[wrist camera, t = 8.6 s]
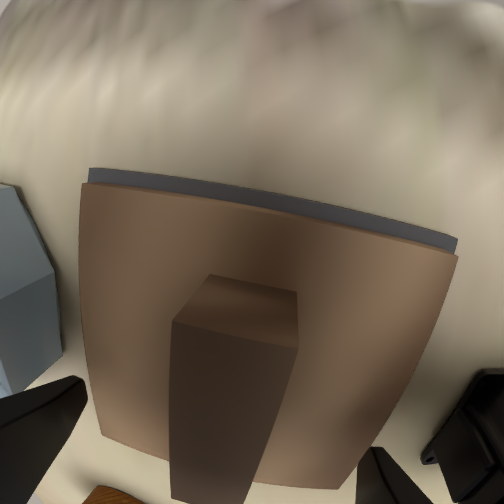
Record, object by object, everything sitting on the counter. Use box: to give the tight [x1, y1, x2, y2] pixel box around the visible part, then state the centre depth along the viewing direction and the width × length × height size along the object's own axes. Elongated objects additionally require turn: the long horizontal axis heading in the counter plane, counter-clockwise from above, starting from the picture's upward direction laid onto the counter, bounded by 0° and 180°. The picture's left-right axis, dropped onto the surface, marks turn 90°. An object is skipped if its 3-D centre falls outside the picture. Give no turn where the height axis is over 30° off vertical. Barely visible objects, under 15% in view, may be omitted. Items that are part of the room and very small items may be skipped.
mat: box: [88, 168, 458, 254], centre depth 11 cm, size 13×13×1 cm
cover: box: [79, 182, 458, 504], centre depth 8 cm, size 12×12×4 cm
